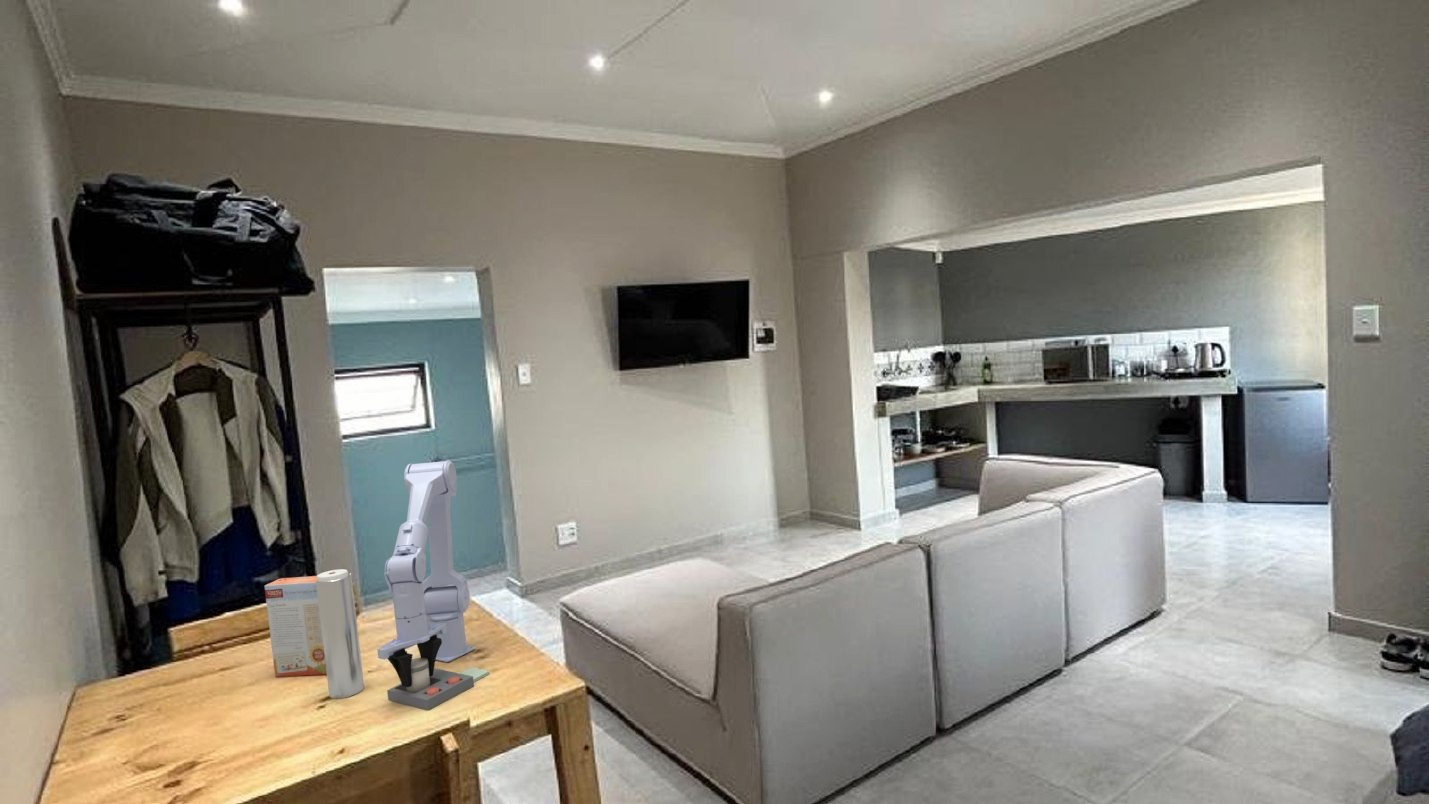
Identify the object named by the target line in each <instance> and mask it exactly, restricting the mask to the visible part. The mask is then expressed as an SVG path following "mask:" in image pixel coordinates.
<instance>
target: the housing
mask: <svg viewBox="0 0 1429 804" xmlns="http://www.w3.org/2000/svg"><path fill="white" fill-rule="evenodd" d="M459 673H460V672H453V671H449V670H444V669H439V668H436V667H434V672H433V676H431V677H430V676H429V677H430V686H429V687H427V688H425V689H423V690H421V691H419V692H417V693H411V692H407V688H406V687H404V686H402V684H401V683H398V685H396V686H393V687H390V688H389V689H386V690H387V693H386V694H387V700H388V701H391V702H394V703H397V704H398V703H399V704H403V705H405V706H410V707H414V708H417V709H421V710H425V711H430V710H432V709H433V708H435V707H437V706H440V705H441V704H443V703H446V702H447V701H449V700H451V699H452V698H454V697H456V696H458V695H460V694H462V693H463V692H466V691H467V690H469V689H471V688H473V687H474V685H475V682H473V676H469V675H464V674H459ZM454 676H458V677H459V678H460V681H459V682H457V683H455V684H453V685H452V684H448V679H449V678H451V677H454ZM431 687H439V692H438V693H436V694H434V695H432V696H431V695H427V689H429V688H431Z"/></svg>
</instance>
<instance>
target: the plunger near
mask: <svg viewBox="0 0 1429 804" xmlns="http://www.w3.org/2000/svg"><path fill="white" fill-rule="evenodd" d="M438 692H439V687H431V688H429V689H427V695H431V696H432V695H434V694H436V693H438Z"/></svg>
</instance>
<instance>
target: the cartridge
mask: <svg viewBox="0 0 1429 804" xmlns="http://www.w3.org/2000/svg"><path fill="white" fill-rule="evenodd" d="M428 666H429V663H428V659H427V658H421V657H418V658H412V661H411V677H412V686H410V687H406V688H407V692H411V693H417V692H419V691H421V690H423V689H425V688H427V687H429V686H430V677H429V668H428Z"/></svg>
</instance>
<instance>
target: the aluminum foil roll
mask: <svg viewBox="0 0 1429 804" xmlns="http://www.w3.org/2000/svg"><path fill="white" fill-rule="evenodd" d="M316 576H317V581H316V587H317V596H318V604H319V613H320V621H321V630H322V638H323V647H324V655H325V664H326V672H327V674H326V681H327V687H328V697H330V698H331V699H337V700H338V698H339V699H346V698H349V696H350V697H352V696H351V695H353V696H354V694H355V695H357V694H359V693H360V692H362V691H363V690H364V688H365V683H364V681H365V680H364V674H363V666H362V656H361V647H360V638H359V631H358V630H359V629H358V623H357V621H358V620H357V610H356V603H355V594H354V587H353V577H352V573H351V572H348V570H347V569H346V568H345V569H343V568H341V569H332V570H328V571H327V570H326V571H324V572H321V573H319V574H317V575H316ZM345 697H346V698H345Z"/></svg>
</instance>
